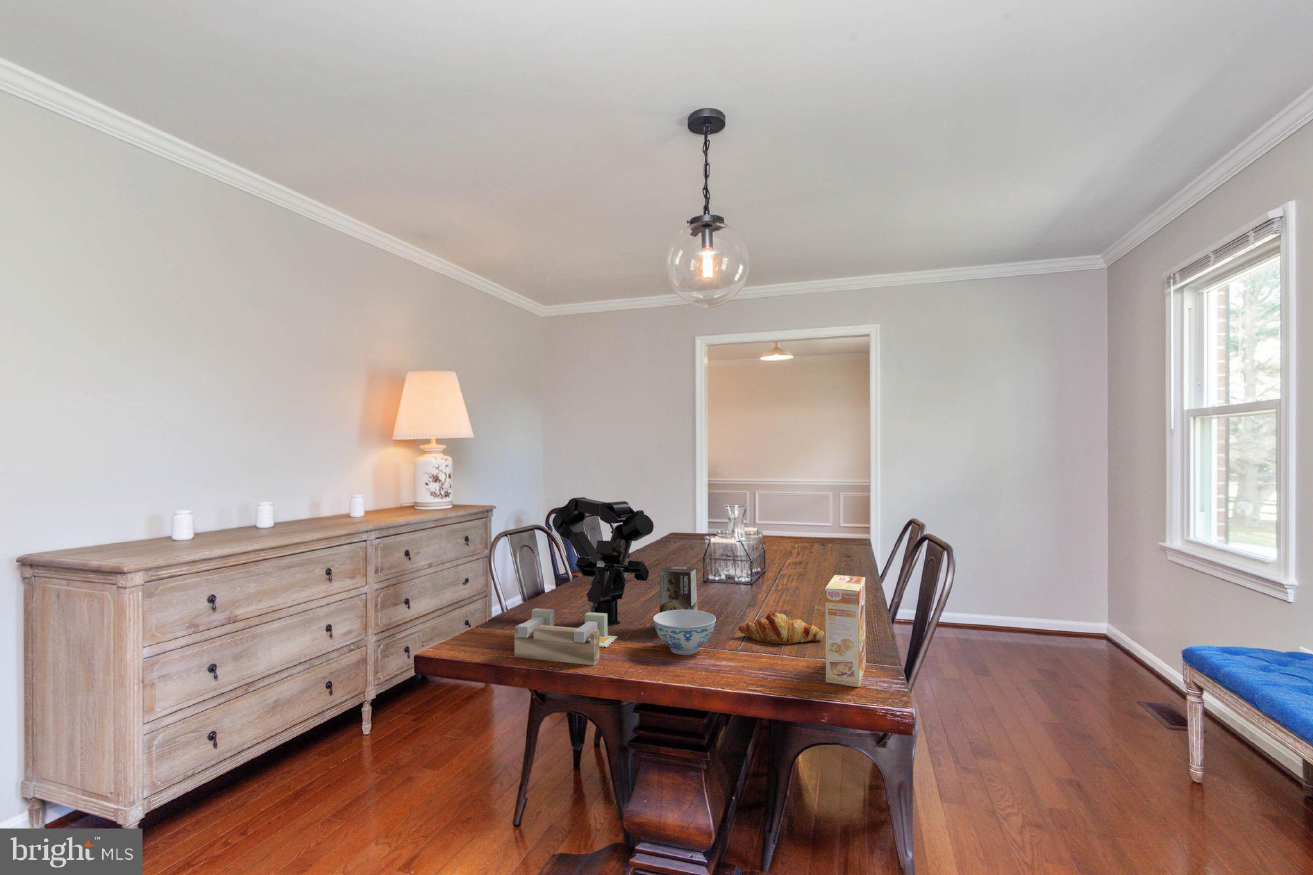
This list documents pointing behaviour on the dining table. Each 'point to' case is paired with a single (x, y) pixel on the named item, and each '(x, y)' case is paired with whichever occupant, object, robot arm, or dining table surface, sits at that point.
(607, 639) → the card
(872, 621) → the dining table surface
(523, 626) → the button
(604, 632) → the button
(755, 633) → the croissant
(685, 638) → the chinaware
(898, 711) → the dining table surface
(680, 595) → the coffee box
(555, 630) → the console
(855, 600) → the coffeecake box
